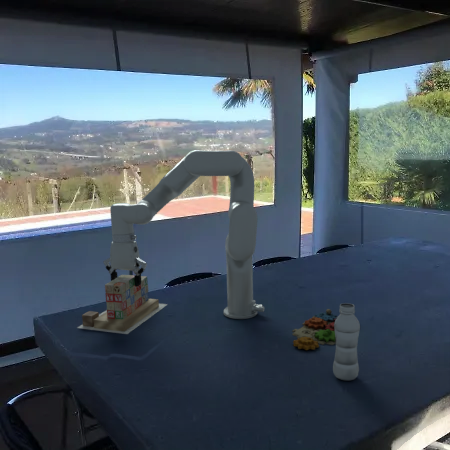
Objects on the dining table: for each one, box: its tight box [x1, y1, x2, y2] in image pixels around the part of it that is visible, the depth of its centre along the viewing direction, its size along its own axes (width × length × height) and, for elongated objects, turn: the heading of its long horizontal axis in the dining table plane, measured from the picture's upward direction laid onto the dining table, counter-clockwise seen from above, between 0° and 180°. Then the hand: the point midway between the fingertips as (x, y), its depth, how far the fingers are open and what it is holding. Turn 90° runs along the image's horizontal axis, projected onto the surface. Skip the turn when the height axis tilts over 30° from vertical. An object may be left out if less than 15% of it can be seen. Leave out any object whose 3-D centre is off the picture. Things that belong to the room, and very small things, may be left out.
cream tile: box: [76, 303, 168, 335], centre depth 168 cm, size 20×30×1 cm, turn 161°
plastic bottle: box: [332, 302, 361, 381], centre depth 119 cm, size 6×7×20 cm
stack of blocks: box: [104, 274, 150, 319], centre depth 166 cm, size 21×6×12 cm, turn 165°
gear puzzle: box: [291, 308, 338, 351], centre depth 149 cm, size 31×16×4 cm, turn 143°
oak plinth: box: [94, 298, 160, 332], centre depth 166 cm, size 12×25×3 cm, turn 161°
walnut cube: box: [81, 310, 100, 327], centre depth 160 cm, size 4×4×4 cm
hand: (126, 284), depth 165 cm, fingers open, 9 cm apart
